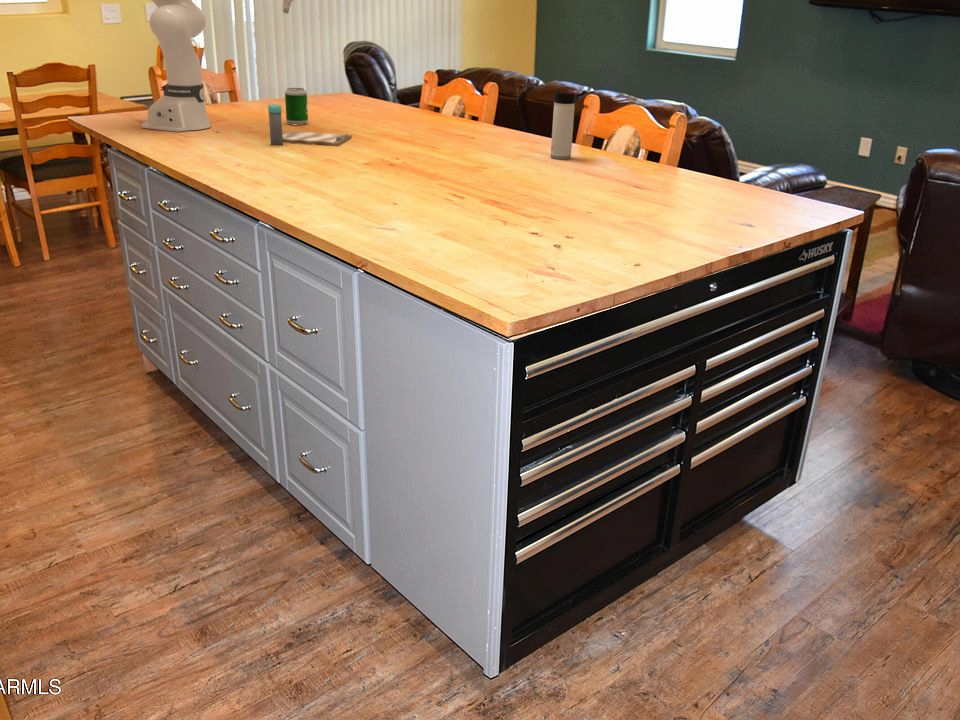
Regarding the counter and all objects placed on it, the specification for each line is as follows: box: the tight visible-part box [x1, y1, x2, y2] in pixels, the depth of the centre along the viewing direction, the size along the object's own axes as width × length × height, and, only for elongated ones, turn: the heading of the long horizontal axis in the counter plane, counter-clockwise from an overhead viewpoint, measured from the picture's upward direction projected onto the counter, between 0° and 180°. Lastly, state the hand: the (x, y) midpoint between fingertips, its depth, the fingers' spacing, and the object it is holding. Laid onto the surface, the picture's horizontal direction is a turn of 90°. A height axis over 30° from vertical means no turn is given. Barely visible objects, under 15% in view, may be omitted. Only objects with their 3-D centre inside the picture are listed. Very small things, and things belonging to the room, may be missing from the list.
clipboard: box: [282, 130, 352, 147], centre depth 292 cm, size 22×15×2 cm
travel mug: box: [550, 91, 576, 161], centre depth 275 cm, size 6×7×20 cm
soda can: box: [284, 87, 309, 126], centre depth 315 cm, size 8×8×12 cm
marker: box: [267, 104, 284, 146], centre depth 281 cm, size 4×4×12 cm
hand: (285, 10), depth 281 cm, fingers open, 8 cm apart
